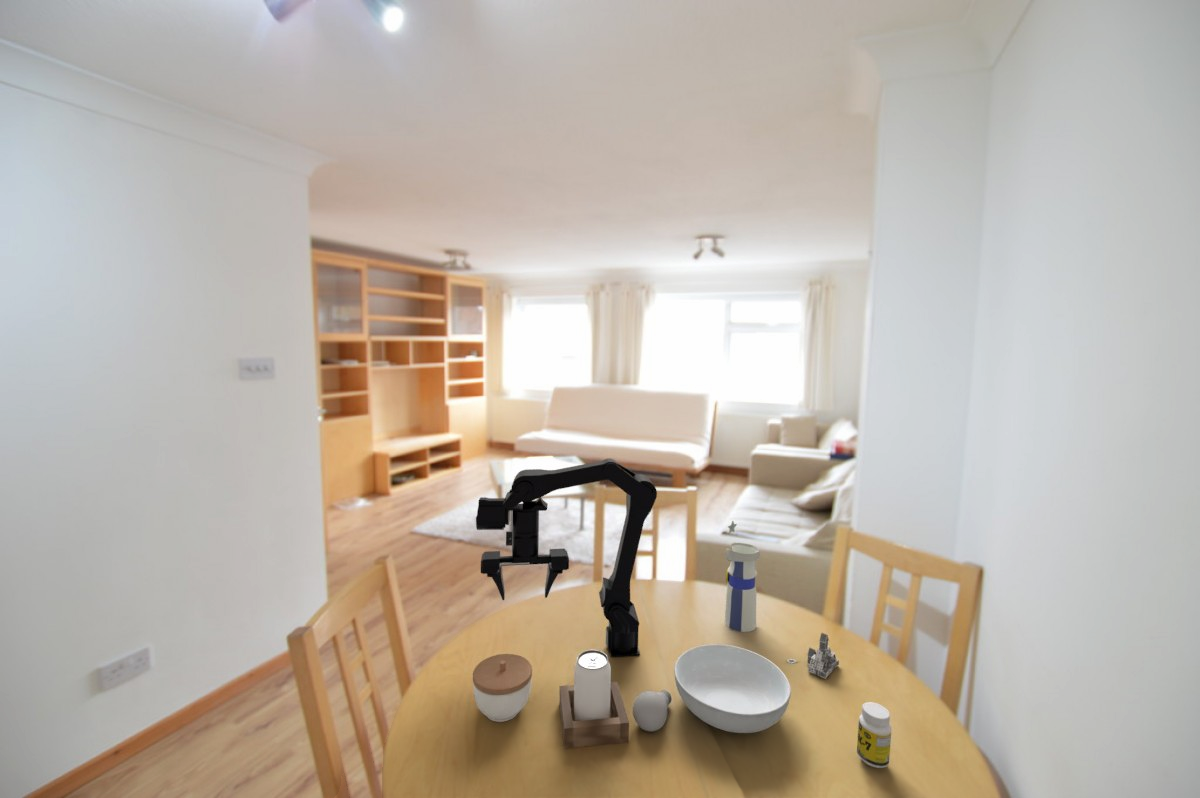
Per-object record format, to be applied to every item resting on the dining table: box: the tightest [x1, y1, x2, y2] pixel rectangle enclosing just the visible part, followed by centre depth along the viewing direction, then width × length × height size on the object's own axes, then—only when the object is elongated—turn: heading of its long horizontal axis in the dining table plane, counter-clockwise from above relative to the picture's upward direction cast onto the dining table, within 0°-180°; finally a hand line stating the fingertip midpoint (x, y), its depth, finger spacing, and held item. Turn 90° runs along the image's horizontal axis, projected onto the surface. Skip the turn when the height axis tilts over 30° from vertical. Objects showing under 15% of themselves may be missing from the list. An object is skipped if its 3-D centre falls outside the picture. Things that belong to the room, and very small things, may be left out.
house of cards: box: [786, 632, 840, 680], centre depth 110 cm, size 9×9×8 cm
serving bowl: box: [673, 643, 792, 734], centre depth 94 cm, size 21×21×7 cm
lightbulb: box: [632, 689, 672, 732], centre depth 92 cm, size 6×6×11 cm
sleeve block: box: [558, 681, 630, 749], centre depth 91 cm, size 11×11×4 cm
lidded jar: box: [472, 653, 533, 723], centre depth 93 cm, size 11×11×9 cm
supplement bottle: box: [856, 701, 892, 769], centre depth 83 cm, size 5×5×8 cm
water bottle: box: [723, 520, 761, 633], centre depth 124 cm, size 8×9×25 cm
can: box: [573, 649, 612, 721], centre depth 90 cm, size 6×6×12 cm
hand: (524, 598), depth 111 cm, fingers open, 9 cm apart
